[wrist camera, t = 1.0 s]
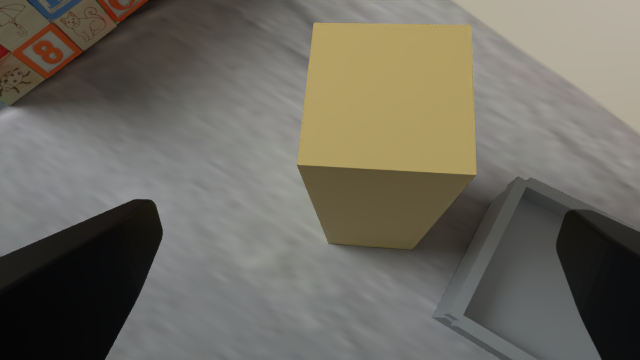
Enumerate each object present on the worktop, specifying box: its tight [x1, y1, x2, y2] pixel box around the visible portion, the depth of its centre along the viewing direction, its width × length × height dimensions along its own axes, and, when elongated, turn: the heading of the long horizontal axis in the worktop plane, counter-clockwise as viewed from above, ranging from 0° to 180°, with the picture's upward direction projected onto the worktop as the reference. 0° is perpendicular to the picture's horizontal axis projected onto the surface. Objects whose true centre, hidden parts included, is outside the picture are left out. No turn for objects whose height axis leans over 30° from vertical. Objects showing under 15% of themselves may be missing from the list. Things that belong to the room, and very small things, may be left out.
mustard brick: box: [297, 23, 476, 250], centre depth 16 cm, size 4×4×12 cm
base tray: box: [433, 177, 640, 360], centre depth 18 cm, size 7×7×4 cm
